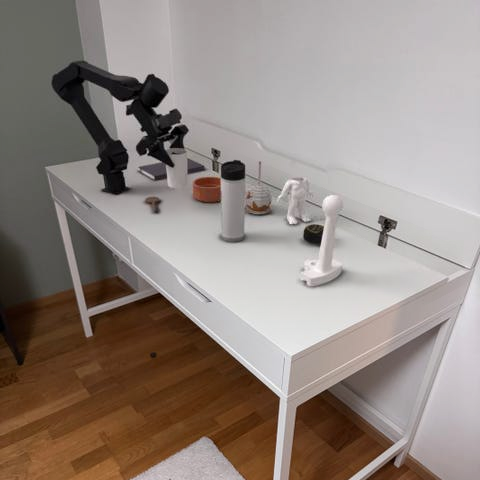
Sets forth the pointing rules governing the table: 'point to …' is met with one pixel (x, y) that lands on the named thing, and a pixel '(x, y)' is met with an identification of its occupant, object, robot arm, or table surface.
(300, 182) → the toy creature
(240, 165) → the travel mug
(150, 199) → the walnut spoon
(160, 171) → the notebook
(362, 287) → the table surface
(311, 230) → the tape measure
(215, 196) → the terracotta bowl
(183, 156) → the white paper coffee cup
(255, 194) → the decorative ornament
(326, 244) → the joystick
